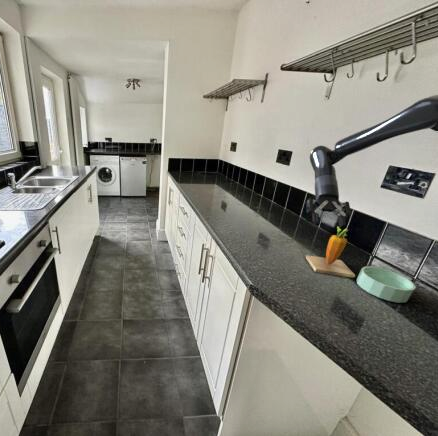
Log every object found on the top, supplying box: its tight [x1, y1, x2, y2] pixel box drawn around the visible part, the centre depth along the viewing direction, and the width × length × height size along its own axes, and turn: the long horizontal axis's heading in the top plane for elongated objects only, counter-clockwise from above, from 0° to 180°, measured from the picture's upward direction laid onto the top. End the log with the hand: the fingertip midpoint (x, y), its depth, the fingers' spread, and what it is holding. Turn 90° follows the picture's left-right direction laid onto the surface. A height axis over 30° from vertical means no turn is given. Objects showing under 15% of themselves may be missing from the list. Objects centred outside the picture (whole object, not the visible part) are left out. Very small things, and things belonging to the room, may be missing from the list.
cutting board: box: [305, 254, 356, 279], centre depth 86 cm, size 12×10×1 cm
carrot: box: [325, 226, 349, 264], centre depth 83 cm, size 5×5×15 cm
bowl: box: [356, 265, 417, 304], centre depth 74 cm, size 12×12×5 cm
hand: (329, 224), depth 89 cm, fingers open, 8 cm apart
